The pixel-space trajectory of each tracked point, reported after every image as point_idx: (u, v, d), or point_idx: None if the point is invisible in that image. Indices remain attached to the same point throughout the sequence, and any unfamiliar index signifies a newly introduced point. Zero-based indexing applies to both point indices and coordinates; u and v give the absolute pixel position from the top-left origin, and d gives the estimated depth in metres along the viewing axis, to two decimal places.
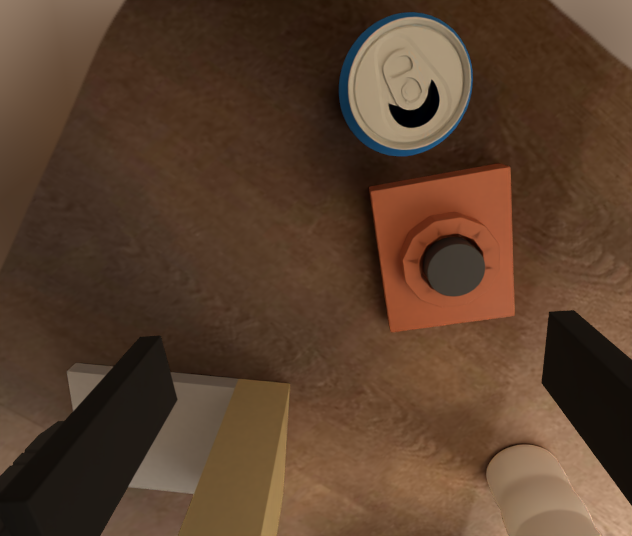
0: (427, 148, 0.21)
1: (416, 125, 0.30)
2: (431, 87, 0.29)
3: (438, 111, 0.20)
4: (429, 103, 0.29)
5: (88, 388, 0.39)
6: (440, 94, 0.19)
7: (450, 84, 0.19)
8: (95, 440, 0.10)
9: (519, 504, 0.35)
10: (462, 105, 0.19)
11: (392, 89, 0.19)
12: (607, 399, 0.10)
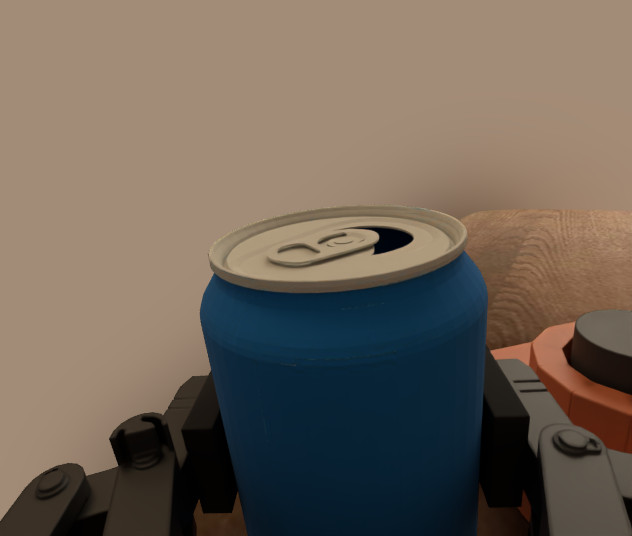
0: None
1: None
2: None
3: (373, 224, 0.11)
4: None
5: None
6: (344, 227, 0.11)
7: (328, 223, 0.11)
8: None
9: None
10: (358, 209, 0.12)
11: (344, 252, 0.09)
12: None
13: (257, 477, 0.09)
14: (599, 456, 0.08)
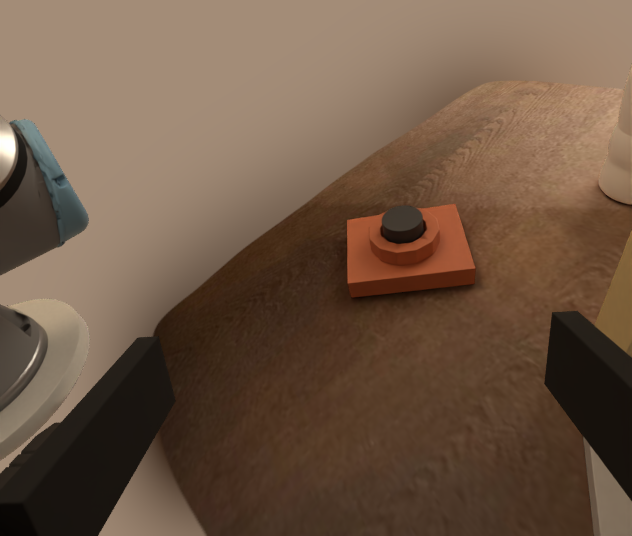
0: None
1: None
2: None
3: None
4: None
5: None
6: None
7: None
8: (92, 442, 0.10)
9: None
10: None
11: None
12: (611, 400, 0.10)
13: None
14: None
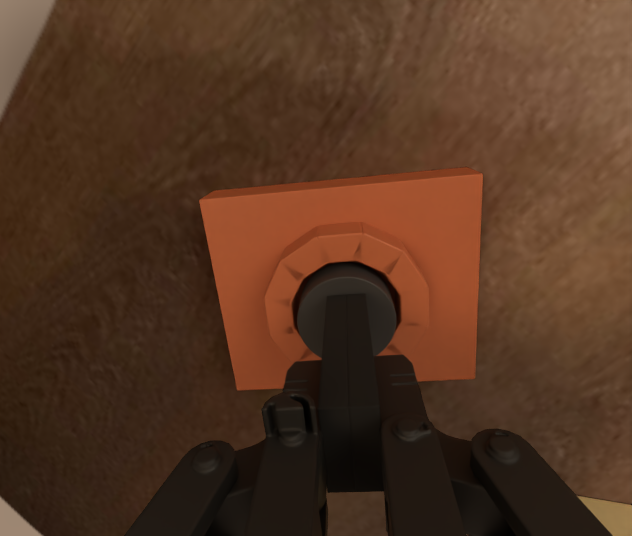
0: None
1: None
2: None
3: None
4: None
5: None
6: None
7: None
8: None
9: None
10: None
11: None
12: None
13: None
14: (429, 437, 0.09)
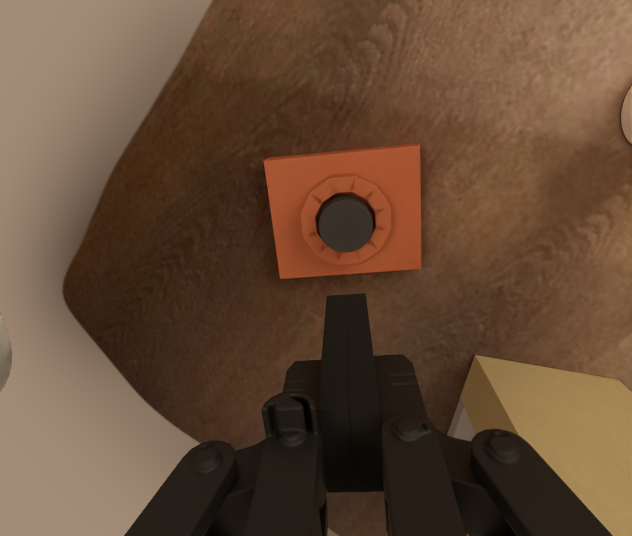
0: None
1: None
2: None
3: None
4: None
5: None
6: None
7: None
8: None
9: None
10: None
11: None
12: None
13: None
14: (429, 437, 0.09)
